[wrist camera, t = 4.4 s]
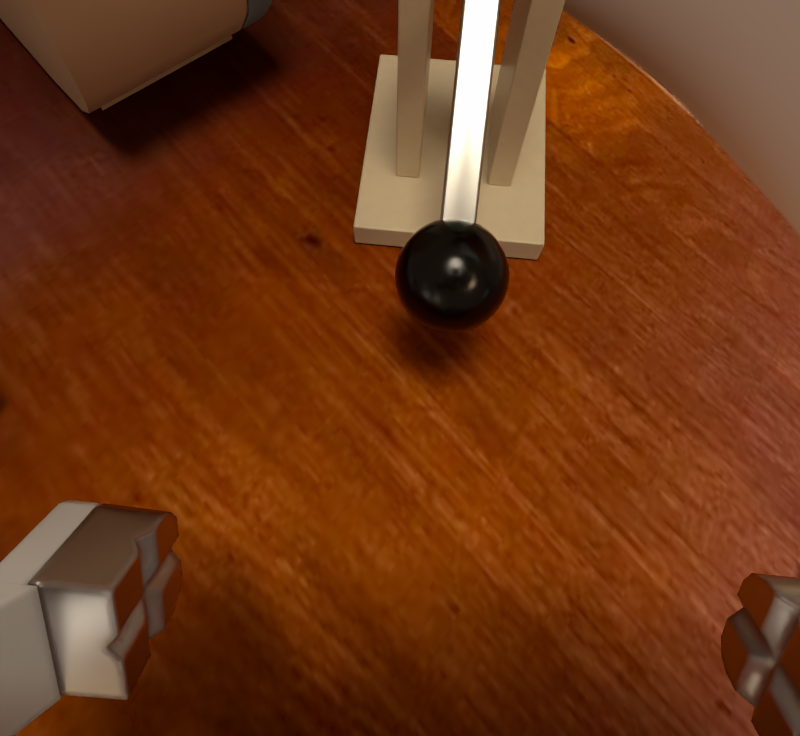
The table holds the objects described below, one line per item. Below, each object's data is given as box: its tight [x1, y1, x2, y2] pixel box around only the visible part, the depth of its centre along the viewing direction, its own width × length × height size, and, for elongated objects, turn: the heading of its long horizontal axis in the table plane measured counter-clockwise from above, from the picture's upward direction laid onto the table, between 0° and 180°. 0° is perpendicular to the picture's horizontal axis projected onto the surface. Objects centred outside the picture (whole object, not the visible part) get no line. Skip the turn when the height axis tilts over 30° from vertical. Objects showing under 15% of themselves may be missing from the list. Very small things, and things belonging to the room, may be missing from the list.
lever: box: [395, 0, 509, 333], centre depth 18 cm, size 14×4×4 cm, turn 175°
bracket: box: [353, 0, 565, 260], centre depth 21 cm, size 10×8×13 cm
